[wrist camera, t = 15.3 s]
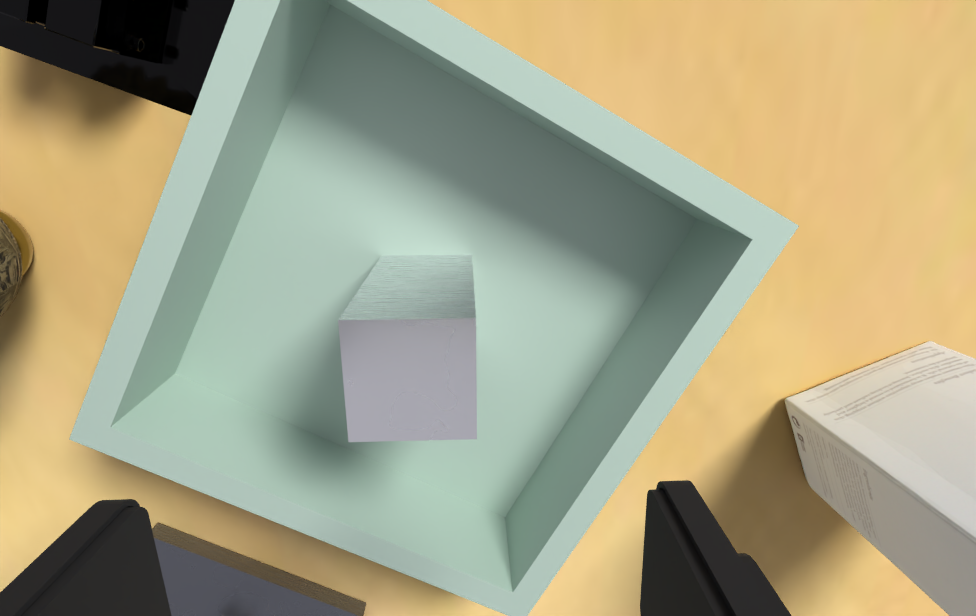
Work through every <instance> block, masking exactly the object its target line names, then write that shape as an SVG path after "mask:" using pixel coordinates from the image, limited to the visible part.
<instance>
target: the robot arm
mask: <svg viewBox="0 0 976 616" xmlns="http://www.w3.org/2000/svg"><path fill="white" fill-rule="evenodd" d="M640 612H641V616H791V614H790V613H789V611H788V610H787V608H786V607H785V605H784V604H783V602H782V601H781V599H780V598H779V596H778V595H777V593H776V592H775V590H774V589H773V587H772V586H771V584H770V583H769V581H768V580H767V578H766V577H765V575H764V574H763V572H762V571H761V570H760V568H759V567H758V565H757V564H756V562H755V561H754V560H753V559H752V558H751V556H749V555H747V554H737V552H736V551H735V549H734V548H733V546H732V544H731V543H730V541H729V540H728V538H727V537H726V535H725V533H724V532H723V530H722V529H721V527H720V526H719V524H718V522H717V521H716V519H715V518H714V516H713V515H712V513H711V511H710V510H709V508H708V507H707V505H706V504H705V502H704V500H703V499H702V497H701V496H700V494H699V493H698V491H697V490H696V488H695V486H694V485H693V484H692V482H691V481H660V482H659V483H658V485H657V488H656V490H649V491H648V494H647V506H646V521H645V537H644V553H643V569H642V584H641V600H640ZM0 616H172V615H171V611H170V607H169V602H168V598H167V594H166V589H165V585H164V580H163V576H162V572H161V567H160V563H159V558H158V554H157V550H156V545H155V541H154V536H153V532H152V528H151V523H150V519H149V515H148V512H147V510H146V509H145V508H143V507H140V506H139V504H138V503H137V501H135V500H132V499H128V500H102V501H98V502H97V503H95V504H94V505H93V506H92V507H91V508H89V509H88V510H87V511H86V512H85V513H84V514H83V515H82V516H81V517H80V518H79V519H78V520H77V521H76V522H75V523H74V524H73V525H71V526H70V527H69V528H68V529H67V530H66V531H65V532H64V533H63V534H62V535H61V536H60V537H59V538H58V539H57V540H56V541H54V542H53V543H52V544H51V545H50V546H49V547H48V548H47V549H46V550H45V551H44V552H43V553H42V554H41V555H40V556H39V557H38V558H36V559H35V560H34V561H33V562H32V563H31V564H30V565H29V566H28V567H27V568H26V569H25V570H24V571H23V572H22V573H21V574H20V575H18V576H17V577H16V578H15V579H14V580H13V581H12V582H11V583H10V584H9V585H8V586H7V587H6V588H5V589H4V590H3V591H2V592H0Z"/></svg>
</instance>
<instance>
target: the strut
mask: <svg viewBox="0 0 976 616" xmlns="http://www.w3.org/2000/svg"><path fill="white" fill-rule="evenodd" d="M338 326H339V338H340V349H341V361H342V373H343V384H344V396H345V408H346V420H347V431H348V442H379V441H424V440H468V439H477V372H476V310H475V294H474V279H473V263H472V255H384V256H381V257H380V259H379V260H378V262H377V263H376V265H375V266H374V268H373V269H372V270H371V272H370V273H369V275H368V276H367V278H366V279H365V281H364V282H363V284H362V285H361V287H360V288H359V290H358V291H357V293H356V294H355V296H354V297H353V299H352V300H351V302H350V303H349V305H348V306H347V308H346V309H345V311H344V312H343V314H342V315H341V317H340V318H339V320H338Z"/></svg>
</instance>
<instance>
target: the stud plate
mask: <svg viewBox="0 0 976 616" xmlns="http://www.w3.org/2000/svg"><path fill="white" fill-rule="evenodd" d="M152 532H153V536H154V541H155V545H156V550H157V554H158V558H159V563H160V567H161V572H162V576H163V580H164V585H165V589H166V594H167V598H168V602H169V607H170V611H171V615H172V616H363V615H364V611H365V606H366V603H365V602H362V601H360V600H357V599H355V598H352V597H349V596H347V595H344V594H342V593H339V592H336V591H334V590H331V589H329V588H326V587H323V586H321V585H318V584H316V583H313V582H311V581H308V580H305V579H303V578H300V577H298V576H295V575H292V574H290V573H287V572H285V571H282V570H279V569H277V568H274V567H272V566H269V565H267V564H264V563H261V562H259V561H256V560H254V559H251V558H248V557H246V556H243V555H241V554H238V553H235V552H233V551H230V550H228V549H225V548H223V547H220V546H217V545H215V544H212V543H210V542H207V541H204V540H202V539H199V538H197V537H194V536H191V535H189V534H186V533H184V532H181V531H179V530H176V529H173V528H171V527H168V526H166V525H163V524H160V523H157V524H156V525H155V527H154V528H153V529H152Z"/></svg>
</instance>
